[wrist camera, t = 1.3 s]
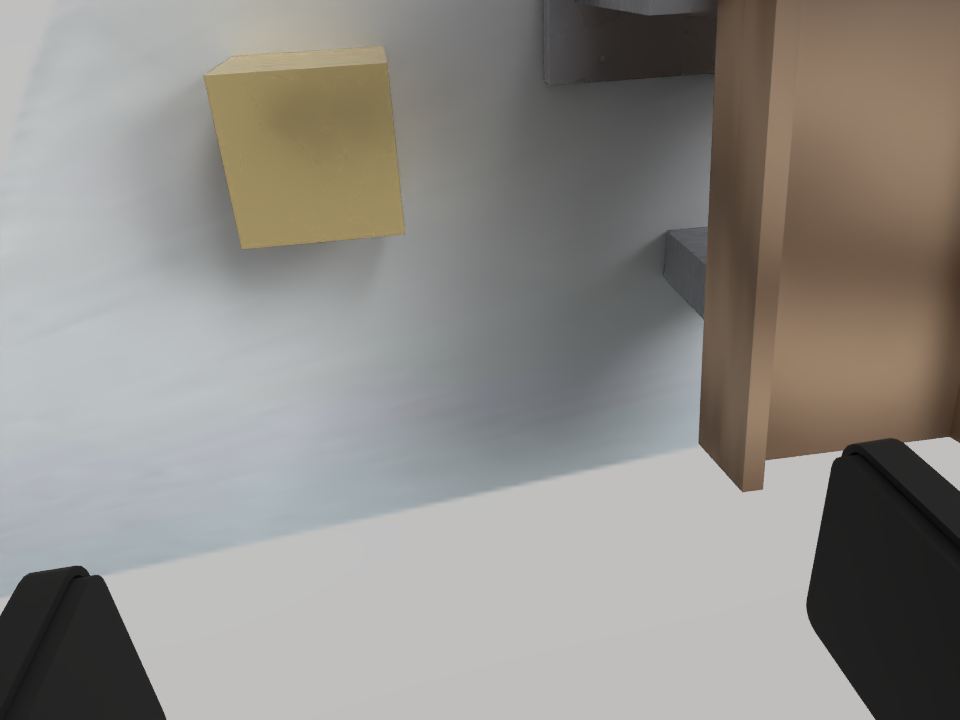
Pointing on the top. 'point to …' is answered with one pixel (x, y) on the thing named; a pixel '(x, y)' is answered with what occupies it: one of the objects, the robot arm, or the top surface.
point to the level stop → (687, 264)
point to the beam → (831, 230)
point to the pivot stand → (627, 39)
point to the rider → (308, 145)
